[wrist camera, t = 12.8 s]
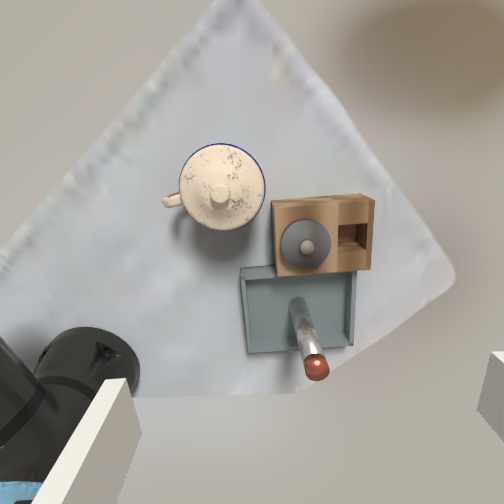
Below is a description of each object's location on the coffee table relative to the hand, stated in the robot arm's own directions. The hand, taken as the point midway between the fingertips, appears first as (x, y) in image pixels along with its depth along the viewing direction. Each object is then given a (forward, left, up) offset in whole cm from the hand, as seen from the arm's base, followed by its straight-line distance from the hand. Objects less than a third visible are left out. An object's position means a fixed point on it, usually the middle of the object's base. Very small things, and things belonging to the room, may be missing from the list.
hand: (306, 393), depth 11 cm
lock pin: (+4, -15, -31) cm, 35 cm away
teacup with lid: (-6, +4, -32) cm, 33 cm away
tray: (+4, -15, -32) cm, 35 cm away
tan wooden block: (+7, -4, -32) cm, 33 cm away
